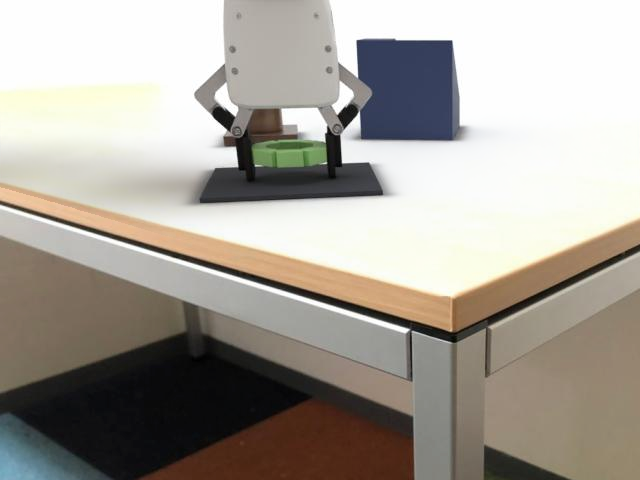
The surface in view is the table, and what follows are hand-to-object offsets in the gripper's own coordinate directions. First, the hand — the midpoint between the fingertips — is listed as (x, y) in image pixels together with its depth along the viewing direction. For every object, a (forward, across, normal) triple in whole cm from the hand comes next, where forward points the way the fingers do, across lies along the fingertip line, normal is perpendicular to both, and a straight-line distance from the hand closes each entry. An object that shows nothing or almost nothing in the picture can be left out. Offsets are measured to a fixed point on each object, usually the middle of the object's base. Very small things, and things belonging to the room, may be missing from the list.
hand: (291, 175), depth 72 cm
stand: (+1, +4, -28) cm, 28 cm away
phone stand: (+1, -16, -30) cm, 34 cm away
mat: (+1, 0, 0) cm, 1 cm away
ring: (-1, 0, 0) cm, 1 cm away
